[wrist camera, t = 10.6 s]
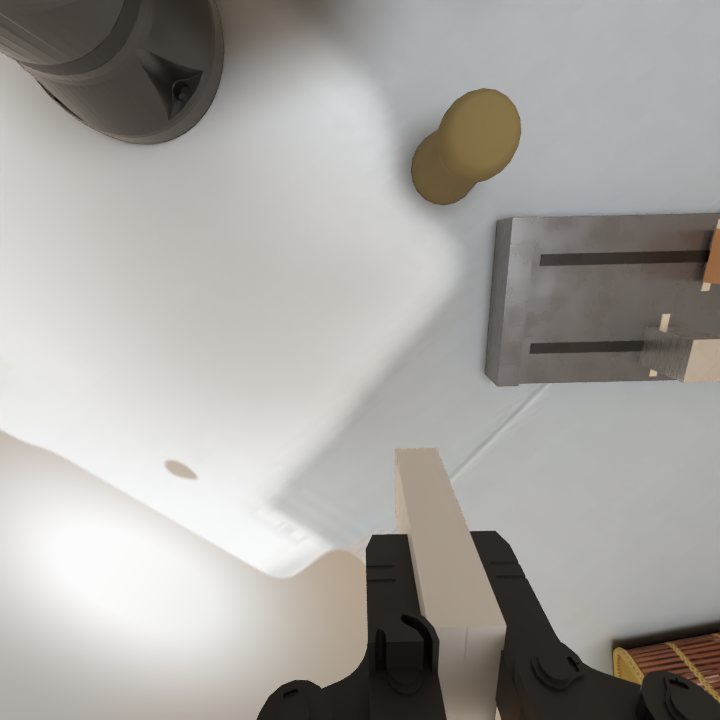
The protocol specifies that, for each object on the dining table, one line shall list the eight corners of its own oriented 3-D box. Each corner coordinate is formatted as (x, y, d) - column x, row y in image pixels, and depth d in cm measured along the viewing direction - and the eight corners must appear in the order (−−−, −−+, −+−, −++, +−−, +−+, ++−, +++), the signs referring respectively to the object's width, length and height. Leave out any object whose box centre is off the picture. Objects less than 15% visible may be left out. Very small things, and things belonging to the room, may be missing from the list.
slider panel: (497, 220, 34) (537, 212, 26) (778, 214, 34) (901, 203, 26) (484, 374, 38) (516, 405, 31) (734, 368, 38) (828, 398, 30)
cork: (453, 113, 31) (502, 44, 21) (492, 173, 33) (555, 138, 22) (397, 162, 32) (416, 120, 22) (437, 219, 34) (472, 205, 23)
